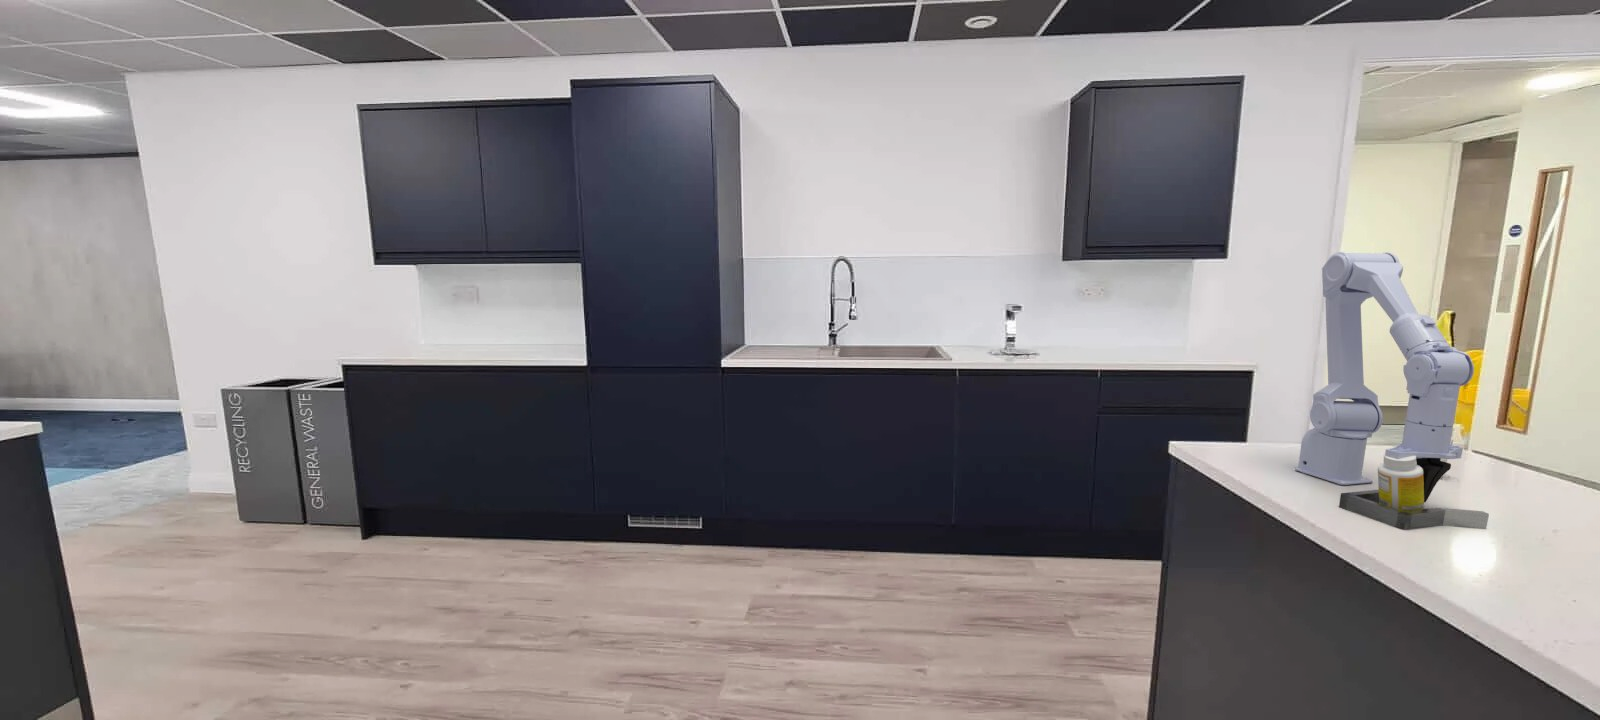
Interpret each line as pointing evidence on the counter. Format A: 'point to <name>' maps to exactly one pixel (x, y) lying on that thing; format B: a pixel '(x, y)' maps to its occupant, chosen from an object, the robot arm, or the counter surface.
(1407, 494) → the supplement bottle
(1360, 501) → the grey angular open frame
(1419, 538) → the counter surface
